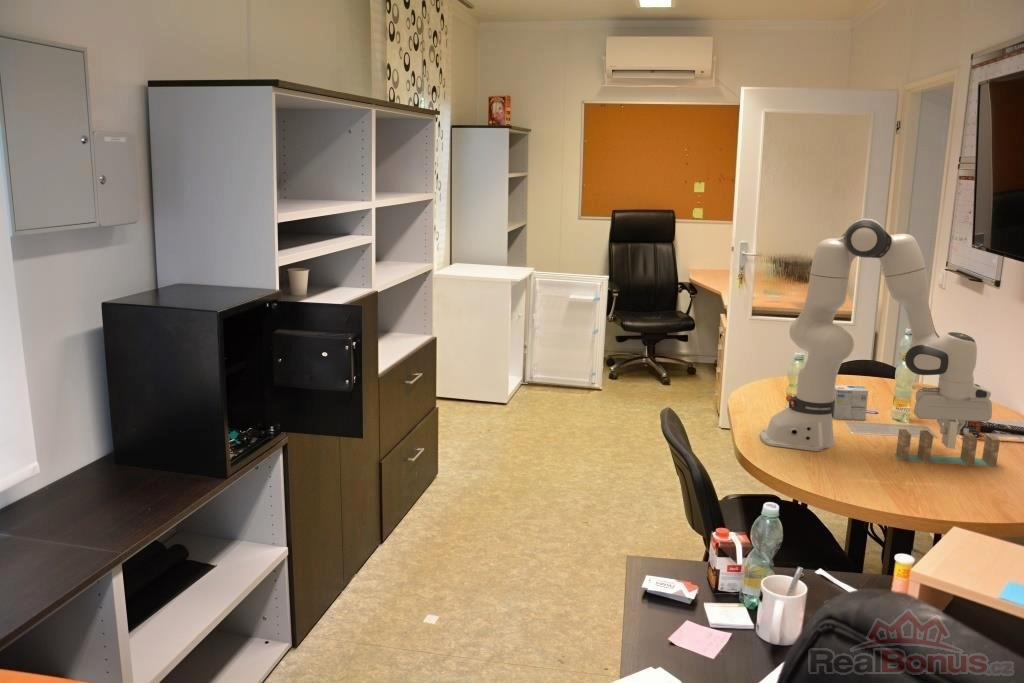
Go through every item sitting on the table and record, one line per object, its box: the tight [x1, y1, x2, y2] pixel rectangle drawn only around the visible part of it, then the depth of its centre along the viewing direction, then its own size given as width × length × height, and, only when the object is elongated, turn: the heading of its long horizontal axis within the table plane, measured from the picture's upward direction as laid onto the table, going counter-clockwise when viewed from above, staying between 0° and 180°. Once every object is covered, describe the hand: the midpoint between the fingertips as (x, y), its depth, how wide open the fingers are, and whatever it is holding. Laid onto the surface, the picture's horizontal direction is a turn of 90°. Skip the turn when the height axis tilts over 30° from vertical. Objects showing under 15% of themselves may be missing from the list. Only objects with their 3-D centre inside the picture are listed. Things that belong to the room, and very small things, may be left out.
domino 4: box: [959, 433, 979, 466], centre depth 237 cm, size 2×5×8 cm, turn 170°
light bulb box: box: [833, 384, 869, 421], centre depth 278 cm, size 11×7×11 cm, turn 84°
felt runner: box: [893, 452, 999, 468], centre depth 239 cm, size 27×6×1 cm, turn 80°
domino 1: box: [895, 428, 912, 462], centre depth 240 cm, size 2×5×8 cm, turn 170°
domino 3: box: [941, 420, 959, 449], centre depth 237 cm, size 2×5×8 cm, turn 171°
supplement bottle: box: [960, 421, 983, 436], centre depth 261 cm, size 6×6×11 cm
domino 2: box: [916, 429, 934, 463], centre depth 239 cm, size 2×5×8 cm, turn 171°
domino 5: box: [981, 433, 1001, 467], centre depth 236 cm, size 2×5×8 cm, turn 170°
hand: (949, 433), depth 237 cm, fingers closed on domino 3, 2 cm apart
